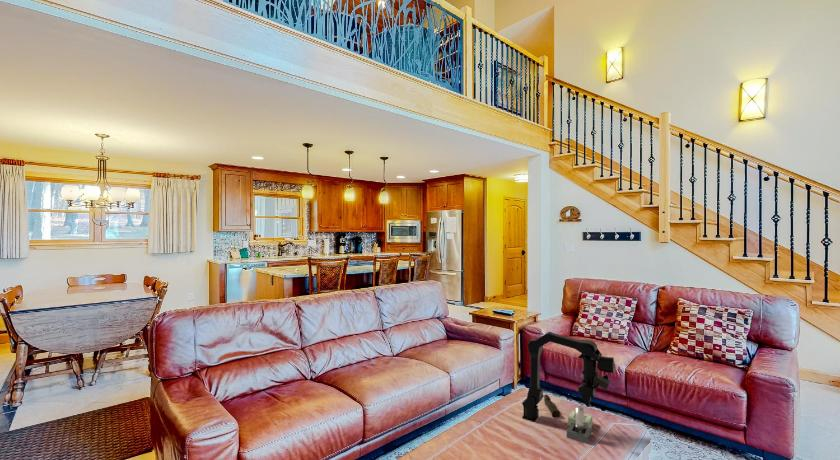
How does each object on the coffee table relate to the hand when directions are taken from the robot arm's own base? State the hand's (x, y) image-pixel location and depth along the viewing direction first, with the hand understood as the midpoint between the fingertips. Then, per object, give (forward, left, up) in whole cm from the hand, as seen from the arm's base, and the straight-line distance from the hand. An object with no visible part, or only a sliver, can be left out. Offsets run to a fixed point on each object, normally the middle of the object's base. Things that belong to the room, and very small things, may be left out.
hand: (590, 402), depth 177 cm
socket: (-4, -4, -15) cm, 16 cm away
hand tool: (-23, +15, -15) cm, 31 cm away
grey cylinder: (-4, -4, -15) cm, 16 cm away
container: (-6, +7, -15) cm, 17 cm away
